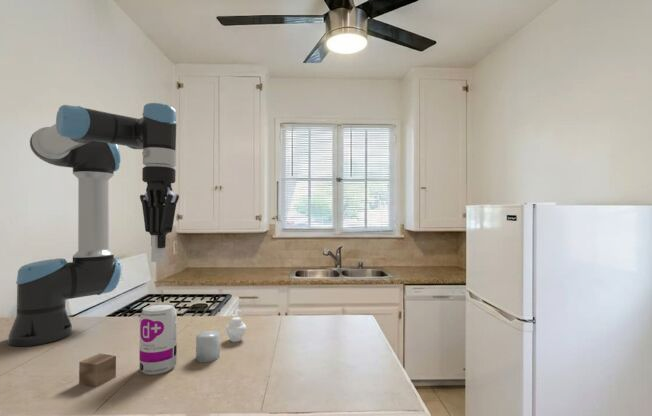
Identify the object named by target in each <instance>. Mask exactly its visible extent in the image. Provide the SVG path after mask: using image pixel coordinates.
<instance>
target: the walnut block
mask: <svg viewBox="0 0 652 416" xmlns="http://www.w3.org/2000/svg"><path fill="white" fill-rule="evenodd" d="M78 363H79V367H78V368H79V370H78V384H79V385H82V386H88V387H93V388H98V387H99V386H102V385H104V384H106V383H107V382H109V381H111V380H113V379H115V378H116V377H117V355H112V354H106V353H100V352H99V353H97V354H95V355H93V356H89V357H88V358H86V359H85V358H84V359H83V360H80V361H79V362H78Z"/></svg>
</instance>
